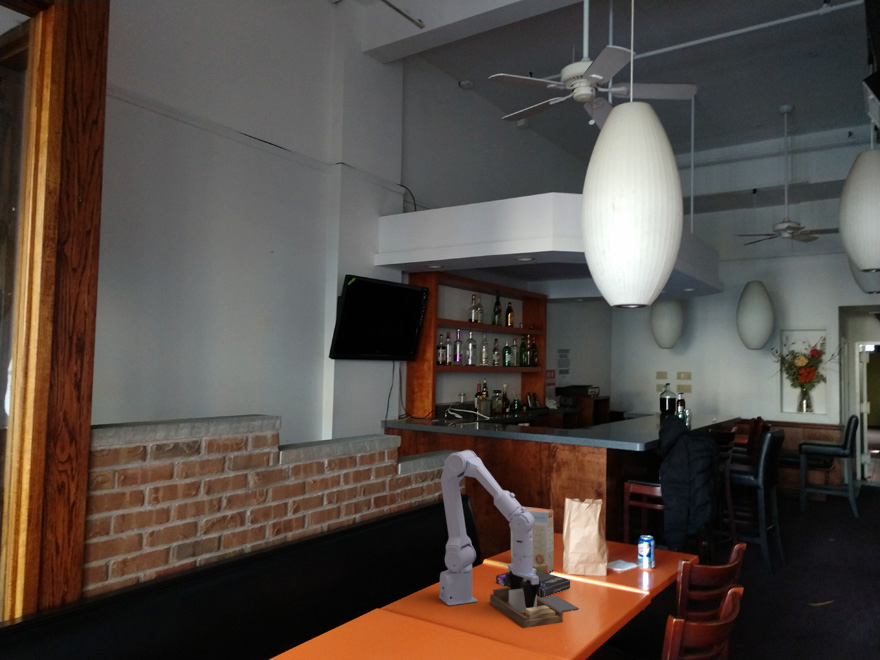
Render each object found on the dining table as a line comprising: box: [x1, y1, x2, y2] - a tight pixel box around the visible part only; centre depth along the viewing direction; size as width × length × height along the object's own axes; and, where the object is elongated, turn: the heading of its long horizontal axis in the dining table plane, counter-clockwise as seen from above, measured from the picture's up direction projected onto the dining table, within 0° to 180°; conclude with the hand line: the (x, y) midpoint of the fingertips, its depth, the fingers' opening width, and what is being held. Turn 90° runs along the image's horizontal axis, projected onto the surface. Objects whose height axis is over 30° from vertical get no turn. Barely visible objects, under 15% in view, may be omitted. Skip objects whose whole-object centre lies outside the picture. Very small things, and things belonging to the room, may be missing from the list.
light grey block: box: [508, 589, 538, 614], centre depth 192 cm, size 8×2×6 cm, turn 112°
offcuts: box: [524, 605, 555, 620], centre depth 183 cm, size 9×3×4 cm, turn 112°
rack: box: [489, 586, 564, 628], centre depth 191 cm, size 12×20×4 cm, turn 22°
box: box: [495, 570, 571, 598], centre depth 215 cm, size 14×4×20 cm
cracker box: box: [510, 506, 555, 574], centre depth 233 cm, size 14×6×21 cm, turn 58°
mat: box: [539, 595, 580, 613], centre depth 197 cm, size 9×12×1 cm
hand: (523, 603), depth 192 cm, fingers open, 7 cm apart
